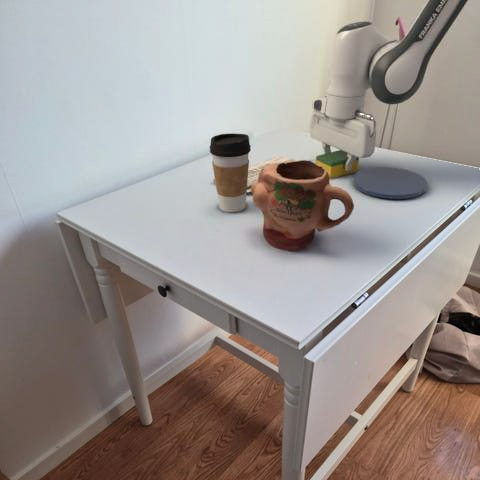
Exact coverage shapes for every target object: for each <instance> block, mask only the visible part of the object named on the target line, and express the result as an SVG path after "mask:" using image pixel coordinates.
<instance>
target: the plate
mask: <svg viewBox="0 0 480 480" xmlns="http://www.w3.org/2000/svg"><path fill="white" fill-rule="evenodd" d="M352 184H353V186H354V188H356V189H357V190H358V191H359V192H361V193H364V194H366V195H368V196H372V197H376V198H381V199H389V200H403V199H411V198H415V197H416V198H417V197H418V196H421V195H423V194H424V193H425V192H426V191H427V188H428V181H427V179H426V178H425V177H424V176H423V175H421V174H420V173H417V172H414V171H413V170H410V169H405V168H400V167H394V166H373V167H372V166H371V167H367V168H363V169H361V170H357V172H355V173H354V175H352Z"/></svg>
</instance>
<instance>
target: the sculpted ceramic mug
mask: <svg viewBox="0 0 480 480" xmlns="http://www.w3.org/2000/svg"><path fill="white" fill-rule="evenodd" d="M330 181H331V179H330V177H329V175H328V172H327V171H326V169H324V168H323V167H322V166H320V165H318V164H316V162H313V161H311V160H307V159H301V160H297V161H288V162H282V163H272V164H270V165H268V166H266V167H264V168H262V170H261V171H260V173H259V177H258V181H256V182H255V183H254V184H253V185H252V187H251V194H252V202H253V204H254V206H255V207H256V208H257V209H258V210H260V211H261V213H262V216H263V226H262V235H263V237H264V239H265V241H266V242H267V244H268V245H270V246H272V247H274V248H277V249H280V250H284V251H291V252H292V251H299V250H303V249H304V248H306V247H308V246H309V245H310V244H311V243H312V242H313V240H314V238H315V234H316V231H317V232H320V233H321V232H324V231H326V230H330V229H333V228H335V227H337V226H339V225H341V223H343V222H345V221H346V220H348V219H349V218H350V217H351V216H352V214H353V211H354V208H355V205H354V204H355V203H354V201H353V198H352V196H351V195H350V194H349V192H348V191H346V190H345V189H343V188H341V187H339V186H333V185H331V183H330ZM333 200H337V201H339V202H341V203H342V204H343V206H344V207H343V208H344V214H343V215H342V216H340V217H338V218H336V219H332V218H330V217H329V210H330V206H331V202H332V201H333Z"/></svg>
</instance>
